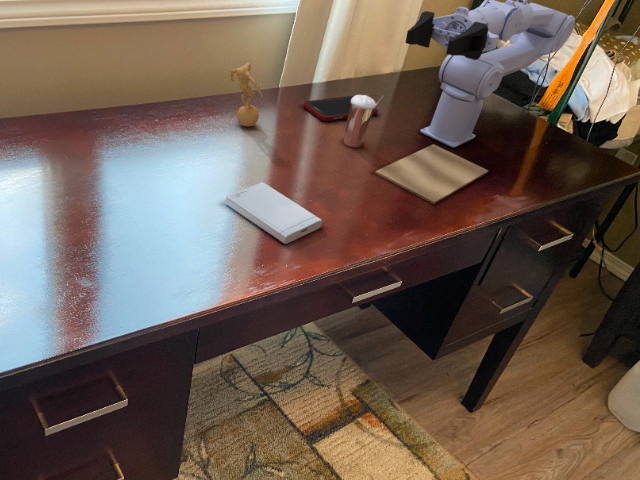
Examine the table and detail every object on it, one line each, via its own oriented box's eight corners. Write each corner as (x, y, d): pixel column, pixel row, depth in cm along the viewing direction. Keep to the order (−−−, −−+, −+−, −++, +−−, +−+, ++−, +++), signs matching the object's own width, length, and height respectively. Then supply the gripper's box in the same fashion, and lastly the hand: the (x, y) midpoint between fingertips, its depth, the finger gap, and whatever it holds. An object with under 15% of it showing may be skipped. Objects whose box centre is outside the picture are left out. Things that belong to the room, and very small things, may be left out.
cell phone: (378, 114, 127) (380, 110, 126) (323, 122, 120) (324, 117, 119) (355, 99, 131) (356, 95, 131) (300, 106, 125) (301, 101, 124)
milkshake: (367, 152, 113) (383, 100, 106) (339, 146, 113) (352, 94, 107) (368, 142, 116) (383, 91, 110) (341, 136, 116) (354, 85, 110)
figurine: (269, 132, 113) (280, 68, 106) (245, 139, 110) (255, 73, 102) (239, 114, 117) (248, 51, 110) (215, 120, 114) (223, 56, 106)
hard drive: (225, 195, 91) (286, 235, 85) (263, 181, 96) (323, 218, 90) (224, 205, 92) (284, 245, 86) (262, 190, 97) (321, 227, 91)
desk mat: (432, 146, 119) (433, 144, 118) (487, 173, 113) (488, 170, 113) (374, 173, 107) (375, 170, 106) (433, 204, 101) (434, 202, 101)
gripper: (440, -5, 107) (395, 7, 100) (517, 11, 99) (475, 25, 92) (431, 37, 112) (387, 51, 104) (505, 56, 104) (463, 72, 96)
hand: (428, 42), depth 98 cm, fingers open, 7 cm apart
